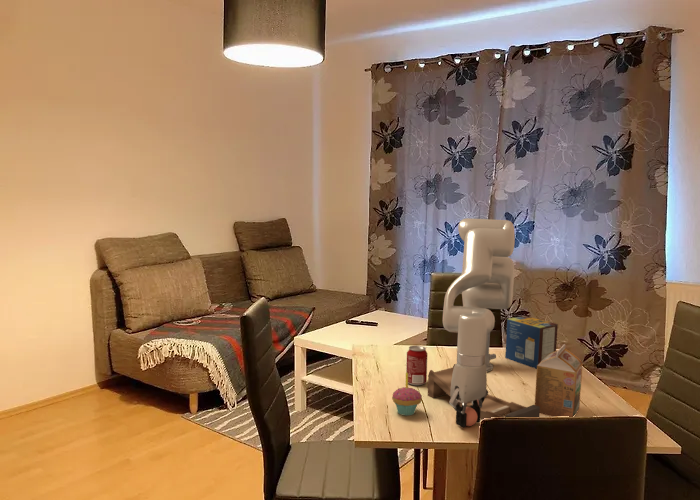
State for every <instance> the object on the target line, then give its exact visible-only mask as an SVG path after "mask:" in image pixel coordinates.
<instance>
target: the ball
mask: <svg viewBox="0 0 700 500" xmlns="http://www.w3.org/2000/svg"><path fill="white" fill-rule="evenodd" d="M465 413H467V418H466V427H471V426H473V425H474V426H475V424H476V423H477V422H476V421H477V418H478V416H477V413H476V411H475V410H474V409H473V408H471V407H466V410H465Z"/></svg>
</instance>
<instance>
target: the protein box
mask: <svg viewBox="0 0 700 500" xmlns="http://www.w3.org/2000/svg"><path fill="white" fill-rule="evenodd" d="M506 320H507V322H506V336H505V338H506V339H505V341H506V342H505V353H504V354H505V355H504V358H505V359H507V360H510V361H512V362H515V363H518V364H521V365H523V366H527V367H530V368H533V369H534V370H535V369H536V370H537V365H538V364H539V363H540V362H541V361H542V360H543V359H544V358H545V357H546V356H547V355H549V354H550V353H552V352H555V351H557V344H558V343H557V342H558V341H557V340H558V328H559V327H558V325H559V324H558V323H555V322H551V321H546V320H543V319H539V318H535V317H531V316H528V315H521V316H517V317H516V316H515V317H510V318H507V319H506Z"/></svg>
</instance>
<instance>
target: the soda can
mask: <svg viewBox="0 0 700 500" xmlns="http://www.w3.org/2000/svg"><path fill="white" fill-rule="evenodd" d="M405 370H407V373H408V385H411V386H415V387H416V386H418V387H421V386H423V385H425V384H426V383H427V382H428V380H427V377H428V375H427V374H428V352H427V348H426V346H422V345H410V346H409V347H408V350H407V352H406V368H405Z"/></svg>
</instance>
